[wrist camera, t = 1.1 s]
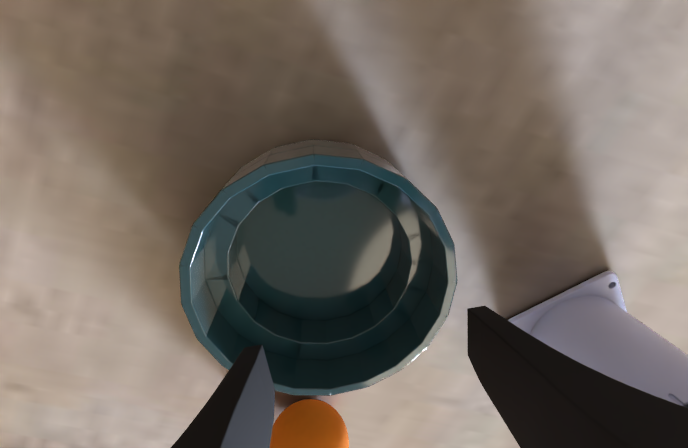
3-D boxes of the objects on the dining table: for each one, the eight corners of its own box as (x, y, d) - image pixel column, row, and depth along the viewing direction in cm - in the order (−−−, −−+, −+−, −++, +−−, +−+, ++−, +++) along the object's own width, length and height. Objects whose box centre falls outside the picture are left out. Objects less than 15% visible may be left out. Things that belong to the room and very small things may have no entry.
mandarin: (357, 415, 27) (369, 499, 21) (297, 445, 27) (294, 533, 22) (321, 370, 25) (325, 449, 19) (257, 403, 25) (243, 488, 20)
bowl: (455, 277, 23) (493, 325, 18) (287, 364, 24) (281, 430, 19) (364, 92, 18) (382, 93, 13) (161, 213, 19) (114, 252, 15)
